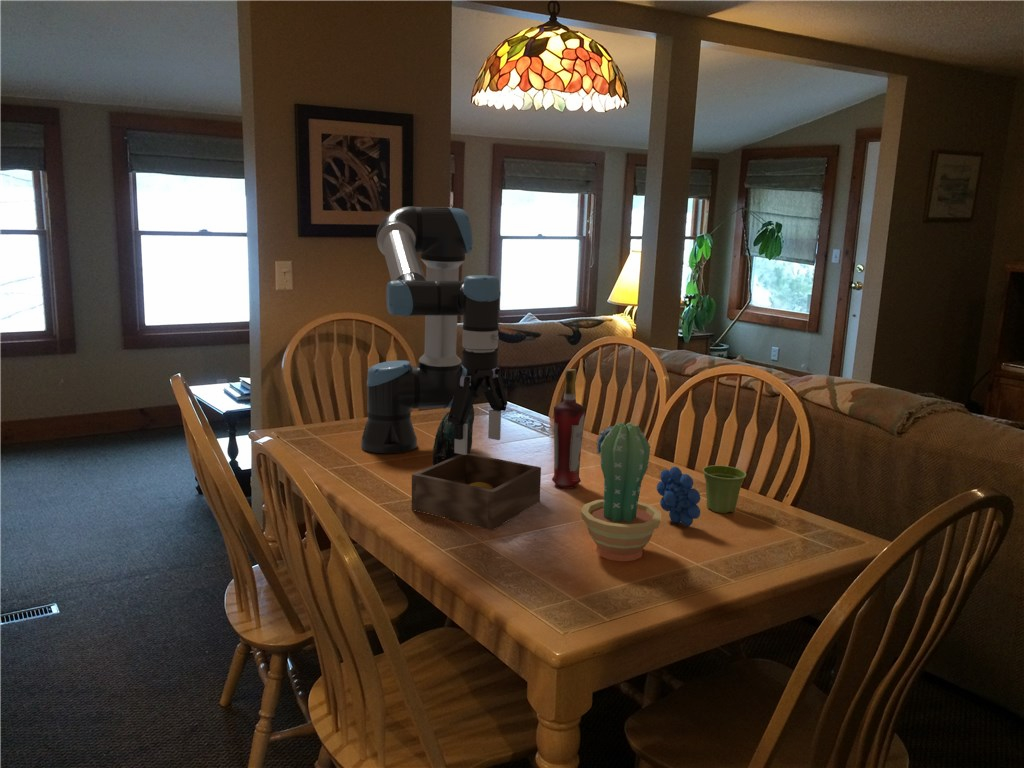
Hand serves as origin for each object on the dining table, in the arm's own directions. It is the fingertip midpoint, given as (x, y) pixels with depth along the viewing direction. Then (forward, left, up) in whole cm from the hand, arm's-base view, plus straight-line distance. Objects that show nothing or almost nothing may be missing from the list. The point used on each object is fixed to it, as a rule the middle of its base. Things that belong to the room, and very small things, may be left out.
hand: (478, 446), depth 174 cm
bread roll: (+1, 0, -13) cm, 13 cm away
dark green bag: (-16, +15, -14) cm, 26 cm away
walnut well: (0, 0, -14) cm, 14 cm away
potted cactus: (+36, -6, -14) cm, 39 cm away
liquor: (+10, +24, -14) cm, 29 cm away
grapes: (+40, +14, -14) cm, 45 cm away
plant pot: (+46, +29, -14) cm, 56 cm away
